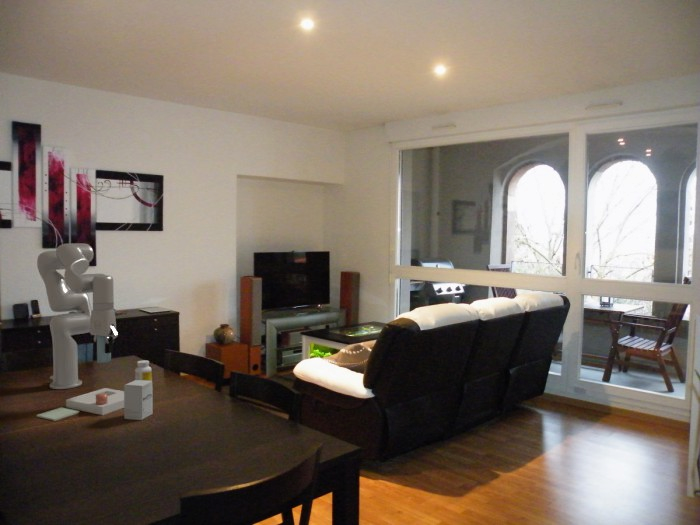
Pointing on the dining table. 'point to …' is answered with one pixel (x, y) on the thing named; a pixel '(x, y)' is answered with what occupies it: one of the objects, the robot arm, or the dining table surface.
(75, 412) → the mat
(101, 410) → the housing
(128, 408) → the supplement box
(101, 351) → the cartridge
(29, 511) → the dining table surface
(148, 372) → the supplement bottle
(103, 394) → the knob
